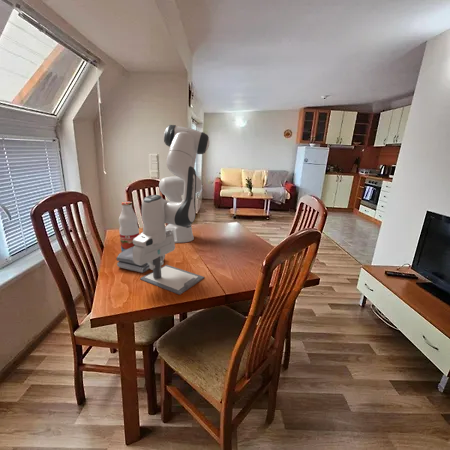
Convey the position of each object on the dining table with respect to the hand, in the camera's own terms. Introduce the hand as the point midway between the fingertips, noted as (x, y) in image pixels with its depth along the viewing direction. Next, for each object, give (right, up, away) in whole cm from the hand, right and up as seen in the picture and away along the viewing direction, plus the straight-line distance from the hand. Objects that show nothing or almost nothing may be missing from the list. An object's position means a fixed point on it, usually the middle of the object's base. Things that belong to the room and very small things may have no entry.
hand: (156, 266), depth 104 cm
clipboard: (+6, -6, +2) cm, 9 cm away
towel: (-12, -2, +17) cm, 20 cm away
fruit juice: (-21, +2, +27) cm, 34 cm away
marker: (0, -4, +1) cm, 5 cm away
